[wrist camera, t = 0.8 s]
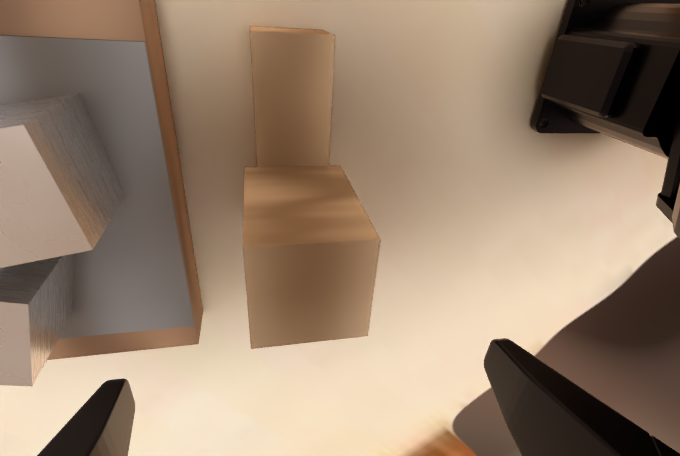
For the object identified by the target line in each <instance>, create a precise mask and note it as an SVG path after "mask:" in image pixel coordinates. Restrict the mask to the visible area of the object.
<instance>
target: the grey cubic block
mask: <svg viewBox="0 0 680 456" xmlns="http://www.w3.org/2000/svg"><path fill="white" fill-rule="evenodd" d="M73 286H74V254H69V255H64V256H59V257H54V258H49V259H44V260H39V261H34V262H29V263H24V264H18V265H13V266H8V267H3V268H0V385H13V386H33V384H34V382H35V380H36V379H37V377H38V375H39V373H40V371H41V369H42V368H43V366H44V364H45V362H46V360H47V359H48V357H49V355H50V353H51V351H52V350H53V348H54V346H55V344H56V342H57V340H58V339H59V337H60V335H61V333H62V331H63V330H64V328H65V326H66V324H67V322H68V321H69V319H70V317H71V315H72V313H73Z"/></svg>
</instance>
